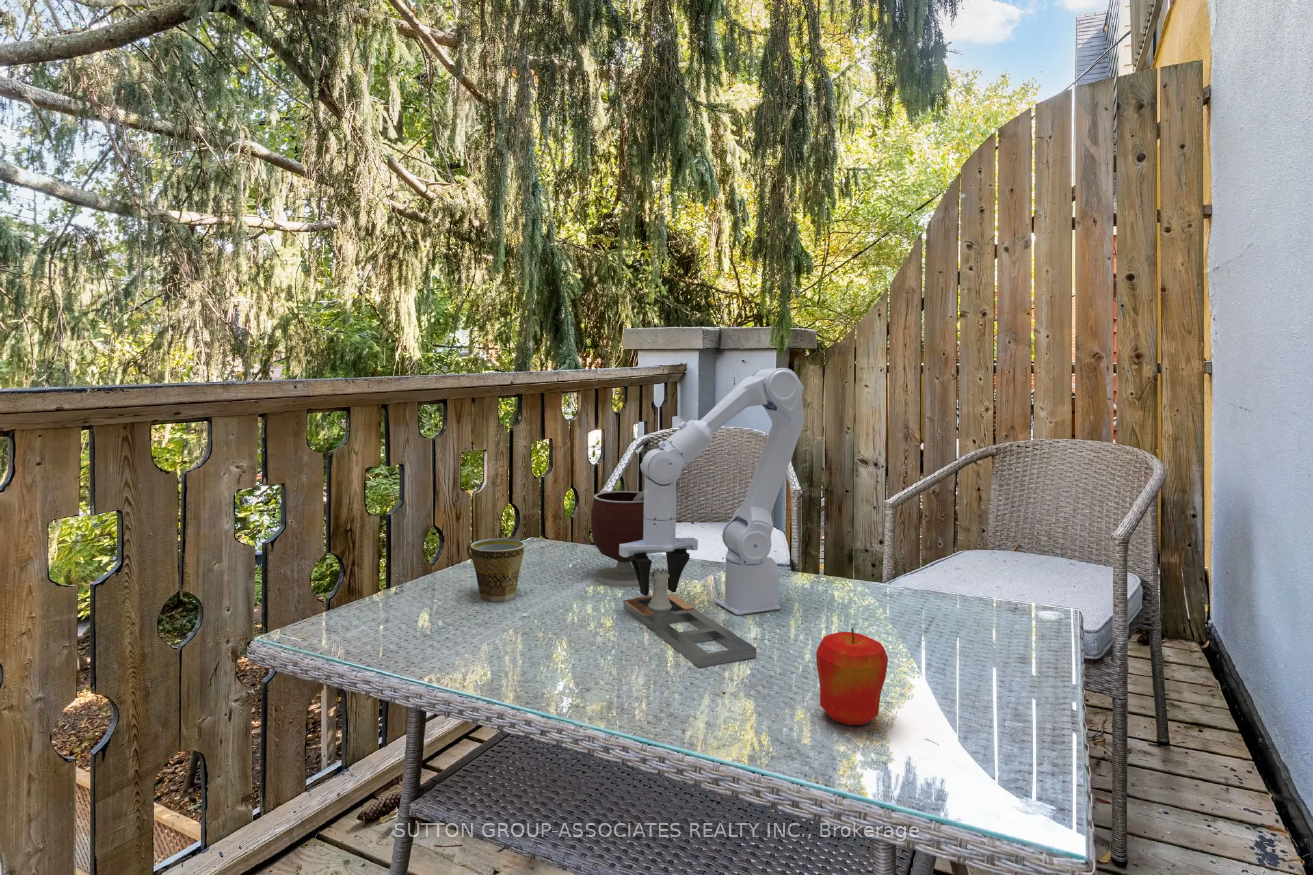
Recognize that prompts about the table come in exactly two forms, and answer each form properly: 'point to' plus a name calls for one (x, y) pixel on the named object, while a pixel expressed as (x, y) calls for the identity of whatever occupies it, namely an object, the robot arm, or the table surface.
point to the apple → (851, 676)
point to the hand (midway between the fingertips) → (658, 592)
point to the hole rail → (687, 639)
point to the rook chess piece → (660, 592)
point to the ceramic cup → (497, 567)
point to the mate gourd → (617, 533)
